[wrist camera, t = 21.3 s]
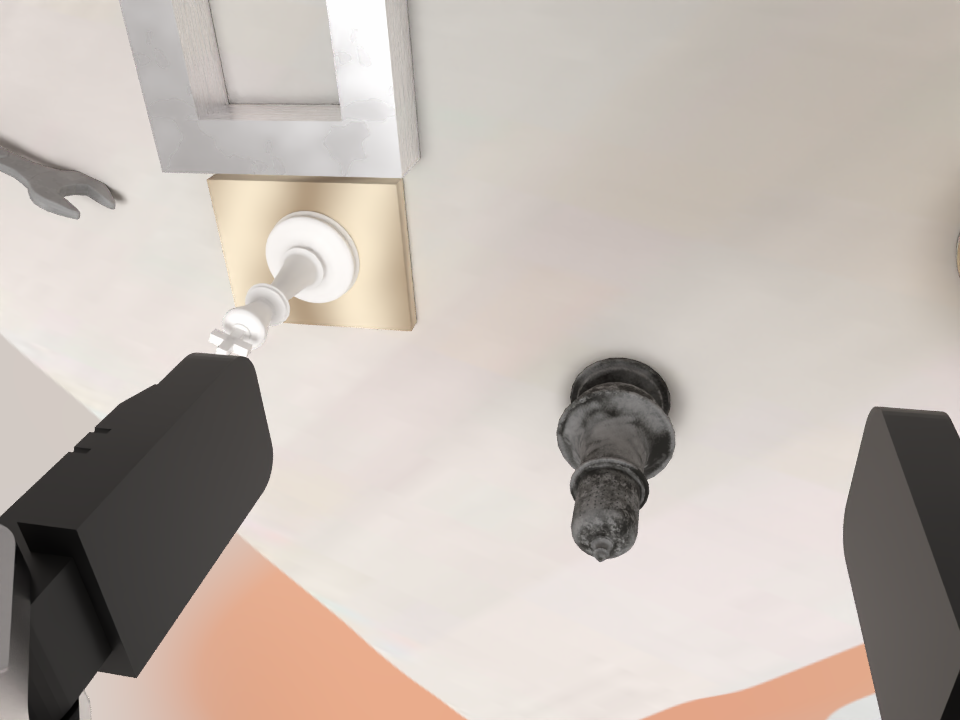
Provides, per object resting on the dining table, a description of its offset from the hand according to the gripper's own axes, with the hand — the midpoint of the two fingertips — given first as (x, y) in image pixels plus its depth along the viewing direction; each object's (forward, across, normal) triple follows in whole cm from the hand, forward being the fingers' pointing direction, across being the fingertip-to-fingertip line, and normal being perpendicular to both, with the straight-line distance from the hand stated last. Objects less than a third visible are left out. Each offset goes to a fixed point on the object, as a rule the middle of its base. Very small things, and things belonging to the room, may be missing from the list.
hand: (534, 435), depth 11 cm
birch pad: (+28, +16, +10) cm, 34 cm away
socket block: (+28, +16, -1) cm, 32 cm away
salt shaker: (+28, 0, +18) cm, 33 cm away
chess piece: (+27, +16, +10) cm, 33 cm away
